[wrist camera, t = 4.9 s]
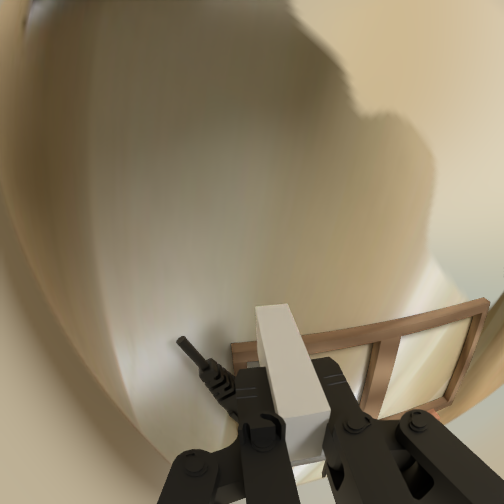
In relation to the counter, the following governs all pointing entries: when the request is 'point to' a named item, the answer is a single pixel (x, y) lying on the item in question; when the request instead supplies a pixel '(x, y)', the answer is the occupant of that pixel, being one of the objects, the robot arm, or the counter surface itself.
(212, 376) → the power plug
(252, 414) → the robot arm
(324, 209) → the counter surface
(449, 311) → the strip
